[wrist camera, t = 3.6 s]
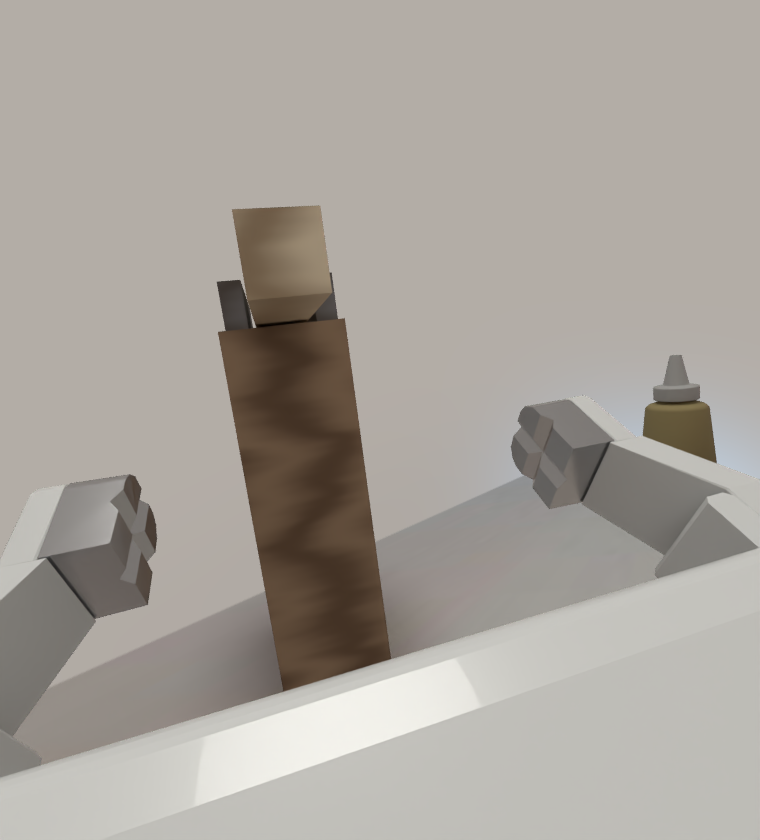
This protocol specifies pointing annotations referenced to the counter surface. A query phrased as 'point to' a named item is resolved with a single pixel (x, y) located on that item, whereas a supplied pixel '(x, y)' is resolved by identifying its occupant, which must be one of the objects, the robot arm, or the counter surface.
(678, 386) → the squeeze bottle
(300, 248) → the beech bar
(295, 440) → the tall stand
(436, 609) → the counter surface
